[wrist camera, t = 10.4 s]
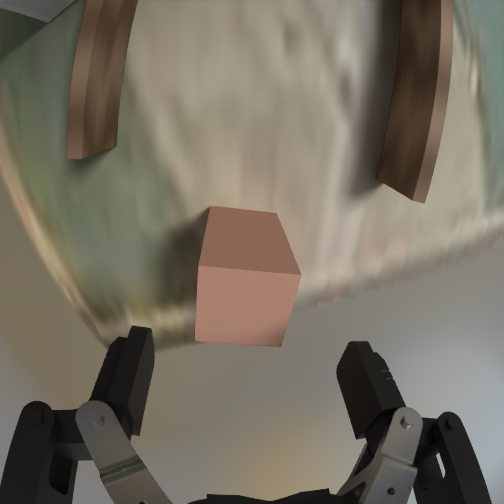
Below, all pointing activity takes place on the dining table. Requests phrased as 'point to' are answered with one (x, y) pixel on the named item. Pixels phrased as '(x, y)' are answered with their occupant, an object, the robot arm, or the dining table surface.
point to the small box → (36, 8)
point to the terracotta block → (245, 279)
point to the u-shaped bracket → (401, 112)
